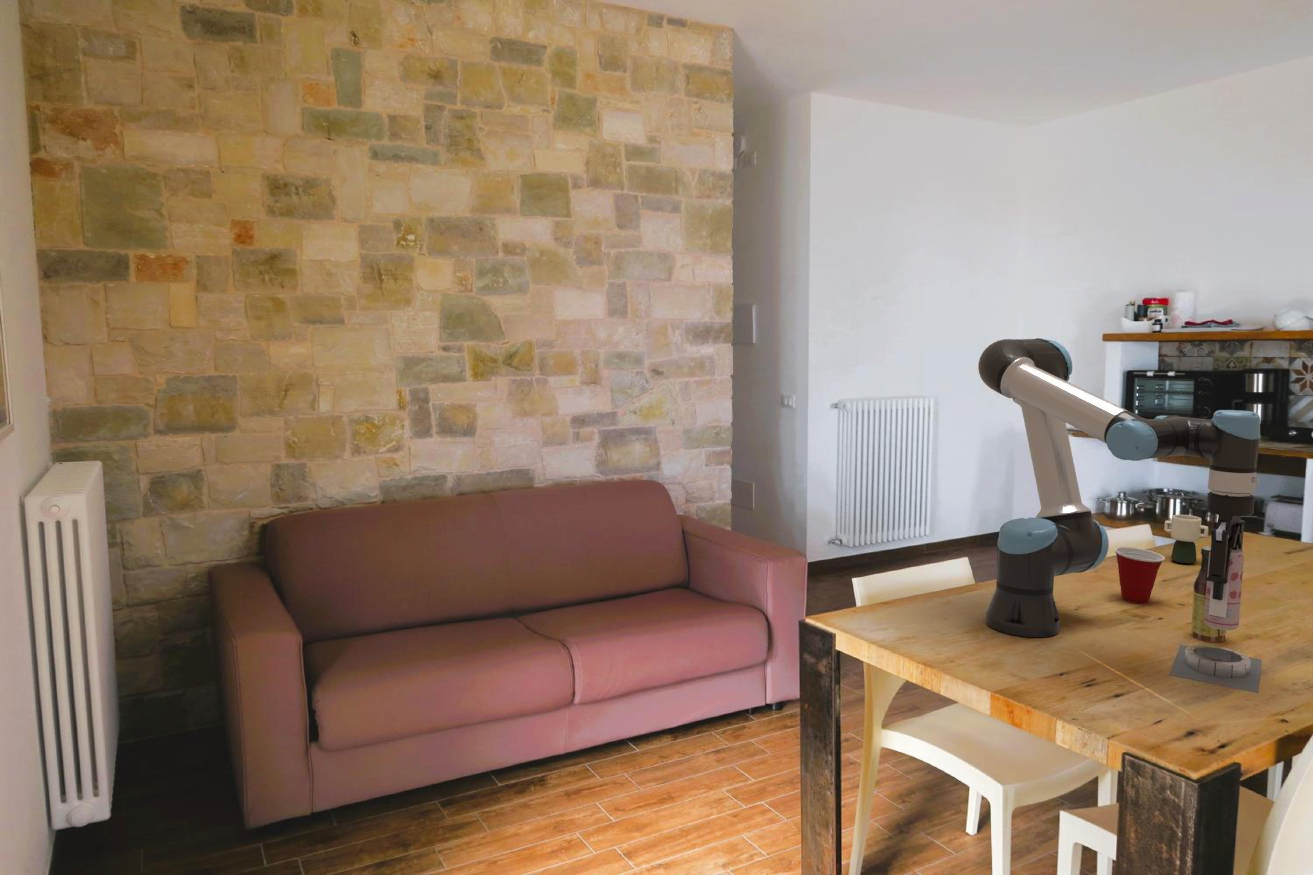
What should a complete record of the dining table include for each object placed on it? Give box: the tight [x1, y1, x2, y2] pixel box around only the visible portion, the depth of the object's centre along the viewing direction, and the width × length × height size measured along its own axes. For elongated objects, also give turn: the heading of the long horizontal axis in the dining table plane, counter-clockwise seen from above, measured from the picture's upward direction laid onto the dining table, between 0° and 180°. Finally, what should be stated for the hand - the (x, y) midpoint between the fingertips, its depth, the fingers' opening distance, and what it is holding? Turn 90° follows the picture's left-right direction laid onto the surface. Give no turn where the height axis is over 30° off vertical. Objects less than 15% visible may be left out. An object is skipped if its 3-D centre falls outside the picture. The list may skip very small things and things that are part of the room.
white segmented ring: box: [1185, 644, 1251, 678], centre depth 173 cm, size 10×10×2 cm
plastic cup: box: [1114, 546, 1166, 604], centre depth 216 cm, size 11×11×12 cm
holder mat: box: [1169, 644, 1263, 694], centre depth 173 cm, size 20×14×1 cm
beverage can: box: [1204, 548, 1245, 631], centre depth 171 cm, size 6×6×15 cm
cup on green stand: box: [1163, 514, 1209, 564], centre depth 250 cm, size 11×7×13 cm, turn 44°
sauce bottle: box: [1191, 545, 1227, 643], centre depth 188 cm, size 7×6×20 cm
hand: (1221, 611), depth 171 cm, fingers closed on beverage can, 6 cm apart
